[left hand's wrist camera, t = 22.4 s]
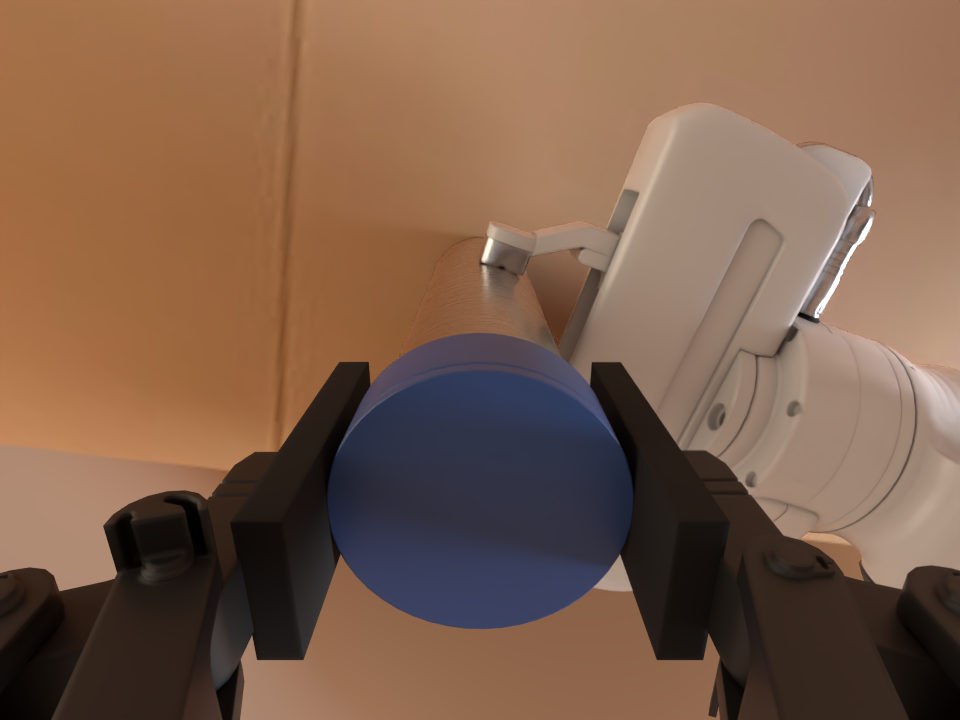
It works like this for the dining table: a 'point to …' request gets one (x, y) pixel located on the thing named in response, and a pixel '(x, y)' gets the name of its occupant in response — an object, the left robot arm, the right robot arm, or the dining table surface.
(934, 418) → the right robot arm
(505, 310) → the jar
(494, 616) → the lid
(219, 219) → the dining table surface
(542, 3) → the dining table surface
